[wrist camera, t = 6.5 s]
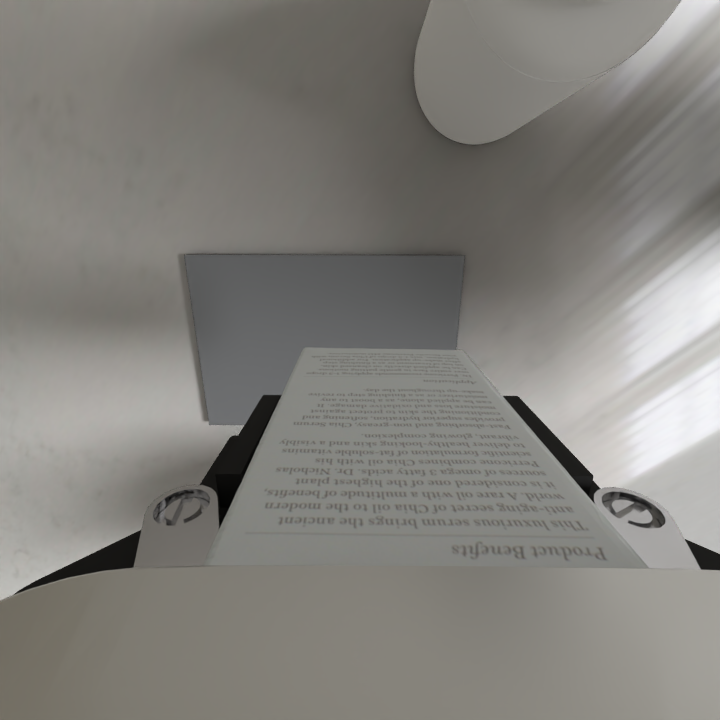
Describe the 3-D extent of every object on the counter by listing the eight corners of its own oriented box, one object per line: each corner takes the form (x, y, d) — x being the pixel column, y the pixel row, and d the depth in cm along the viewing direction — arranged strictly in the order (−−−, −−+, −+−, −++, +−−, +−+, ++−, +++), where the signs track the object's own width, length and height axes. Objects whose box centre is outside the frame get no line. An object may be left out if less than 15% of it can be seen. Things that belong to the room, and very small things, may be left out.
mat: (462, 255, 25) (464, 255, 25) (447, 422, 30) (448, 426, 29) (188, 254, 26) (184, 254, 25) (212, 421, 30) (209, 424, 29)
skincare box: (306, 445, 15) (128, 1124, 4) (302, 343, 13) (-10, 936, 2) (457, 448, 15) (757, 1135, 4) (469, 346, 13) (1028, 953, 2)
